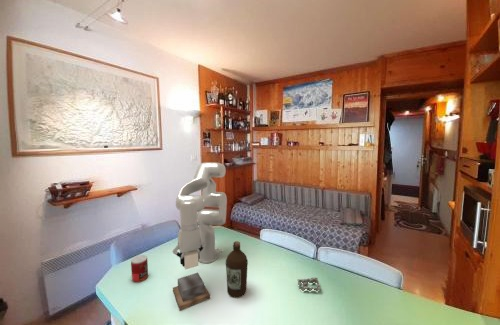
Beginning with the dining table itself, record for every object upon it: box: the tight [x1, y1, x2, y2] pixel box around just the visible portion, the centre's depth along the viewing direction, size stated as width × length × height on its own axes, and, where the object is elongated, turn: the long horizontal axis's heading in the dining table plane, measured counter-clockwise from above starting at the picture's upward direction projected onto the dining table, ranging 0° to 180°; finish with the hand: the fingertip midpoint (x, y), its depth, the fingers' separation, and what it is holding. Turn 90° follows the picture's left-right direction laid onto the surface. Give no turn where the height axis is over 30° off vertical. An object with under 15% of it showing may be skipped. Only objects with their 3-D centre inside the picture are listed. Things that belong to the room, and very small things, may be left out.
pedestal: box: [172, 272, 211, 312], centre depth 102 cm, size 14×14×7 cm
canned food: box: [130, 254, 149, 283], centre depth 114 cm, size 8×8×11 cm
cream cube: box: [183, 249, 199, 270], centre depth 100 cm, size 6×6×6 cm
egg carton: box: [297, 277, 321, 291], centre depth 107 cm, size 11×8×4 cm
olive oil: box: [225, 240, 249, 299], centre depth 103 cm, size 11×11×25 cm
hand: (190, 262), depth 100 cm, fingers closed on cream cube, 6 cm apart
